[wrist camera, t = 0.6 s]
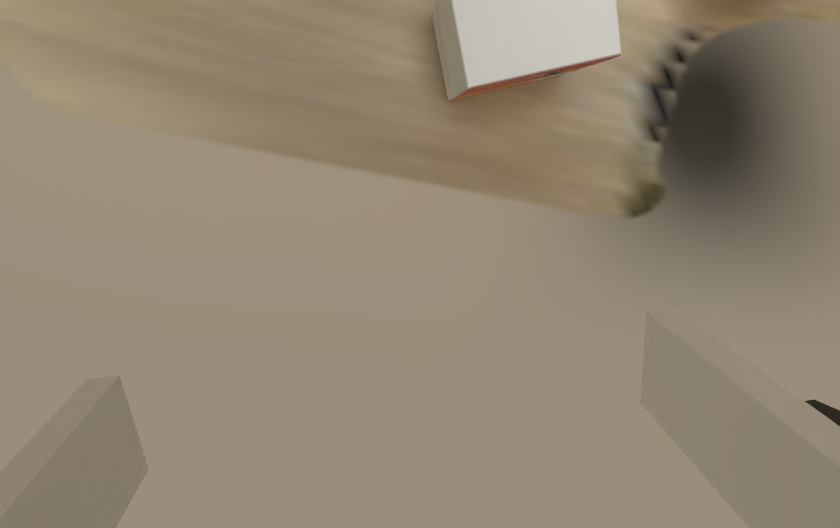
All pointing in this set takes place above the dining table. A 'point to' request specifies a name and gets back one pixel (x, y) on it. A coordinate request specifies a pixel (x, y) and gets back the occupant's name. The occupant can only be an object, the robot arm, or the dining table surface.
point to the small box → (520, 41)
